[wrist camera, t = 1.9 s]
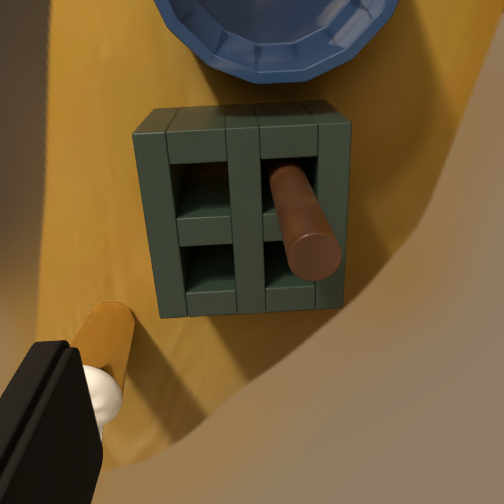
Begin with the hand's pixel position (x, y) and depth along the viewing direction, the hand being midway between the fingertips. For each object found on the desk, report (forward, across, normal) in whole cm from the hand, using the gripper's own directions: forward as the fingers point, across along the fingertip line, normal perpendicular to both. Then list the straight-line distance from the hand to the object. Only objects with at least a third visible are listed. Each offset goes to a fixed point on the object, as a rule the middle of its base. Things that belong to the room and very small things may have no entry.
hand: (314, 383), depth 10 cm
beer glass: (+22, +11, +13) cm, 28 cm away
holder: (+22, +1, +3) cm, 23 cm away
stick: (+22, -1, +1) cm, 22 cm away
